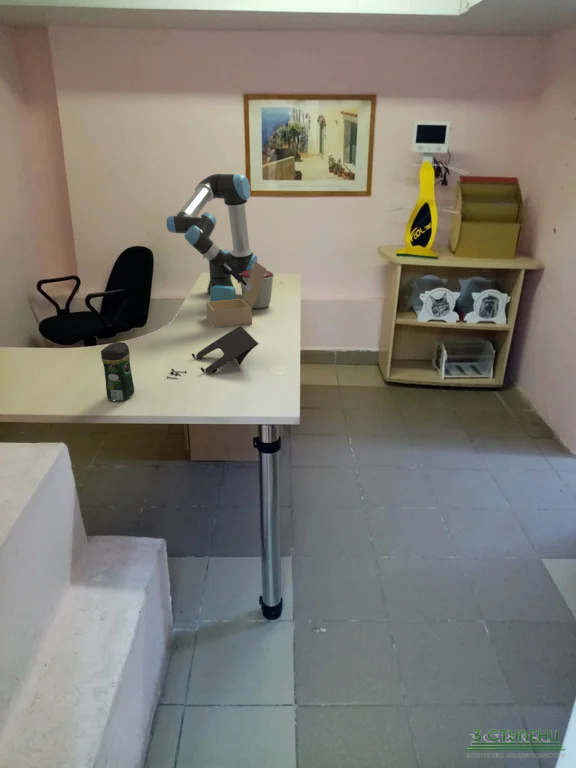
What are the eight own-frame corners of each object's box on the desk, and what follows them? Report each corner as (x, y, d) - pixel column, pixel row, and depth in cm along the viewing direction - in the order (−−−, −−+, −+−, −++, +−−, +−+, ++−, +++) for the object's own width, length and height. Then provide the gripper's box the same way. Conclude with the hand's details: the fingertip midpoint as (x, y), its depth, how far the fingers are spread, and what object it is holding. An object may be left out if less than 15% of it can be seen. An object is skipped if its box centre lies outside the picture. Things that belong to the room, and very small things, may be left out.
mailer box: (206, 318, 275) (206, 301, 272) (242, 314, 280) (242, 298, 277) (214, 327, 261) (213, 310, 258) (252, 323, 267) (251, 307, 263)
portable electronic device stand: (200, 369, 231) (189, 351, 226) (248, 339, 234) (238, 321, 229) (214, 390, 211) (202, 371, 207) (266, 358, 214) (255, 338, 209)
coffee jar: (116, 389, 197) (109, 339, 190) (137, 391, 196) (131, 340, 188) (103, 401, 188) (95, 349, 181) (125, 403, 187) (119, 350, 180)
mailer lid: (255, 261, 272) (256, 261, 273) (242, 297, 277) (243, 297, 277) (265, 268, 258) (266, 268, 259) (252, 306, 263) (253, 306, 263)
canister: (252, 313, 283) (252, 271, 274) (232, 305, 295) (231, 264, 287) (281, 307, 293) (281, 266, 284) (260, 299, 306) (260, 260, 297)
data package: (236, 309, 288) (235, 286, 283) (232, 312, 284) (231, 288, 279) (214, 307, 291) (213, 284, 287) (210, 310, 288) (209, 286, 283)
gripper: (205, 258, 262) (241, 291, 274) (211, 263, 251) (248, 298, 262) (216, 246, 261) (251, 279, 273) (223, 251, 250) (259, 285, 262)
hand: (250, 288), depth 268 cm, fingers closed
